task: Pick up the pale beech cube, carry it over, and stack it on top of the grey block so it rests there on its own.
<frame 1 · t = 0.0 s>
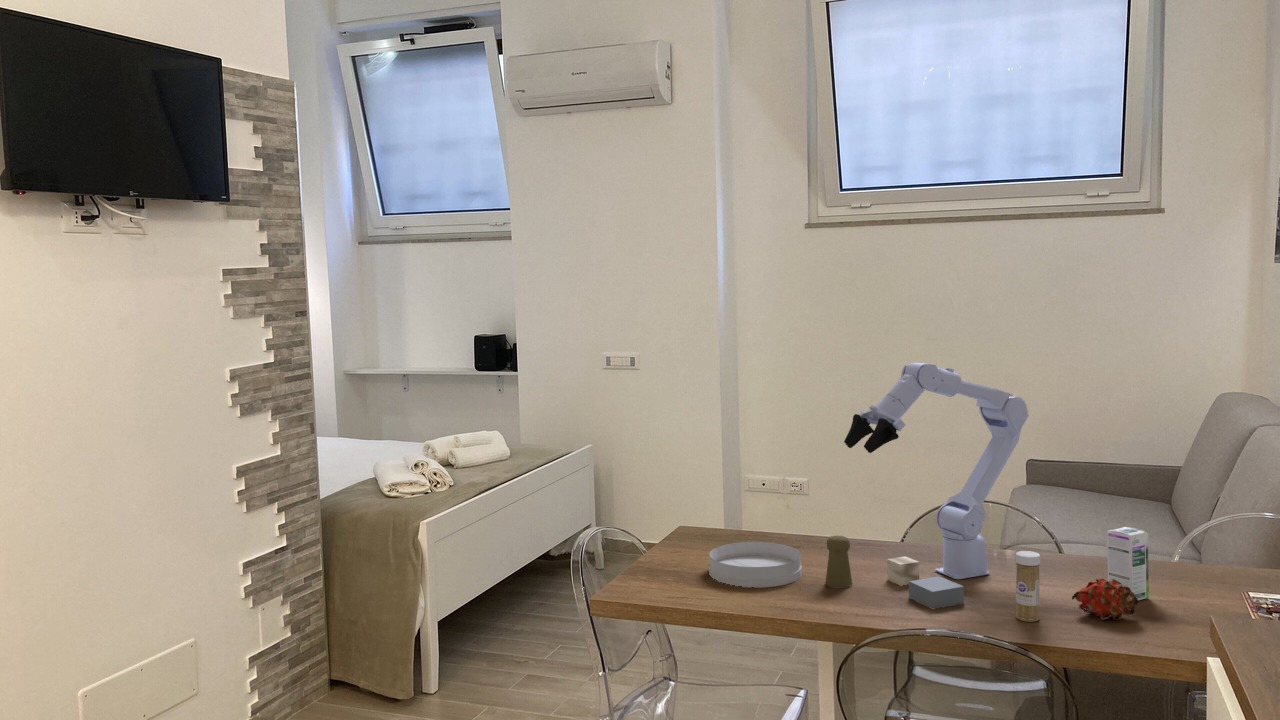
hand: (856, 447, 209), 32 cm above the table, tool tilted 50°, fingers open, 7 cm apart
sprinkles bottle: (1027, 619, 191), on the table
dragon fruit: (1104, 618, 190), on the table
dish: (755, 575, 227), on the table
grey block: (936, 602, 203), on the table
beech cube: (903, 581, 217), on the table
syrup box: (1127, 598, 202), on the table
cork: (838, 584, 217), on the table
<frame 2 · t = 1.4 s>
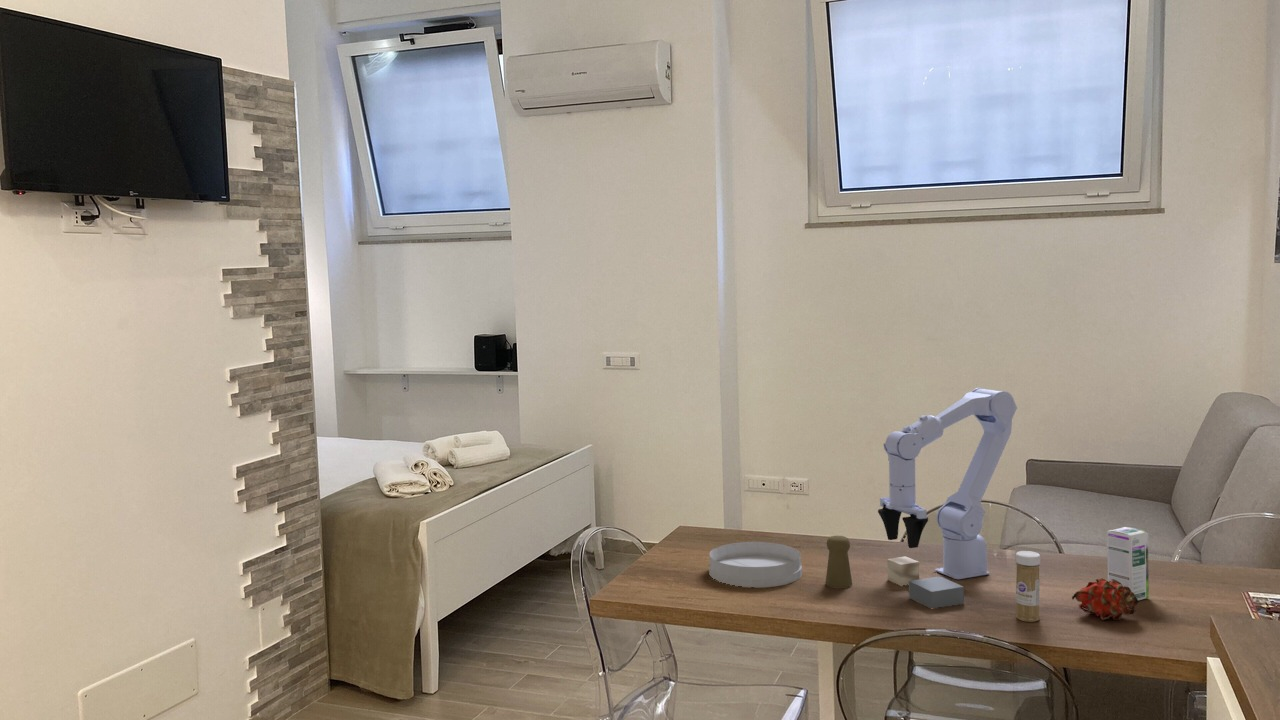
hand: (902, 543, 216), 9 cm above the table, tool pointing down, fingers open, 7 cm apart
nothing on the table moved.
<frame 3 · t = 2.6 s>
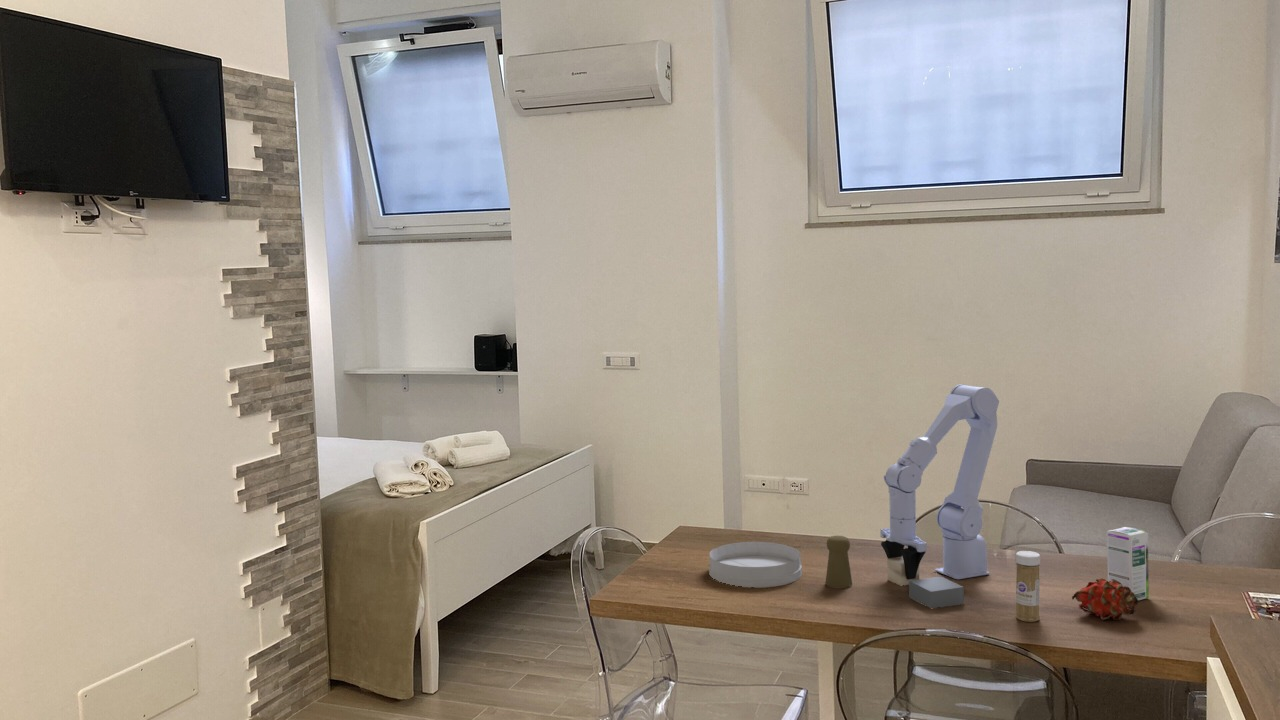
hand: (903, 575, 217), 1 cm above the table, tool pointing down, fingers closed on beech cube, 5 cm apart
beech cube: (903, 581, 217), on the table, touching gripper
everything else where it was.
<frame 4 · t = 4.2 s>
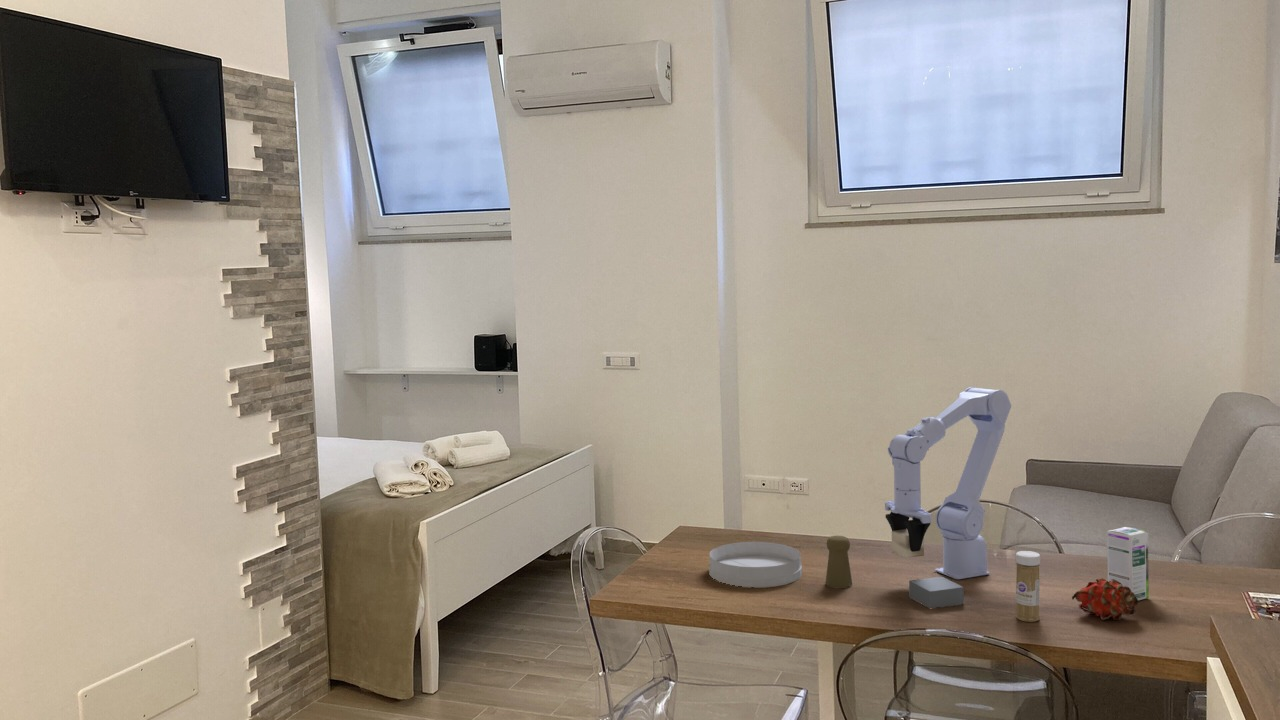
hand: (907, 547, 214), 8 cm above the table, tool pointing down, fingers closed on beech cube, 5 cm apart
beech cube: (907, 554, 214), point 7 cm above the table, touching gripper
everything else where it was.
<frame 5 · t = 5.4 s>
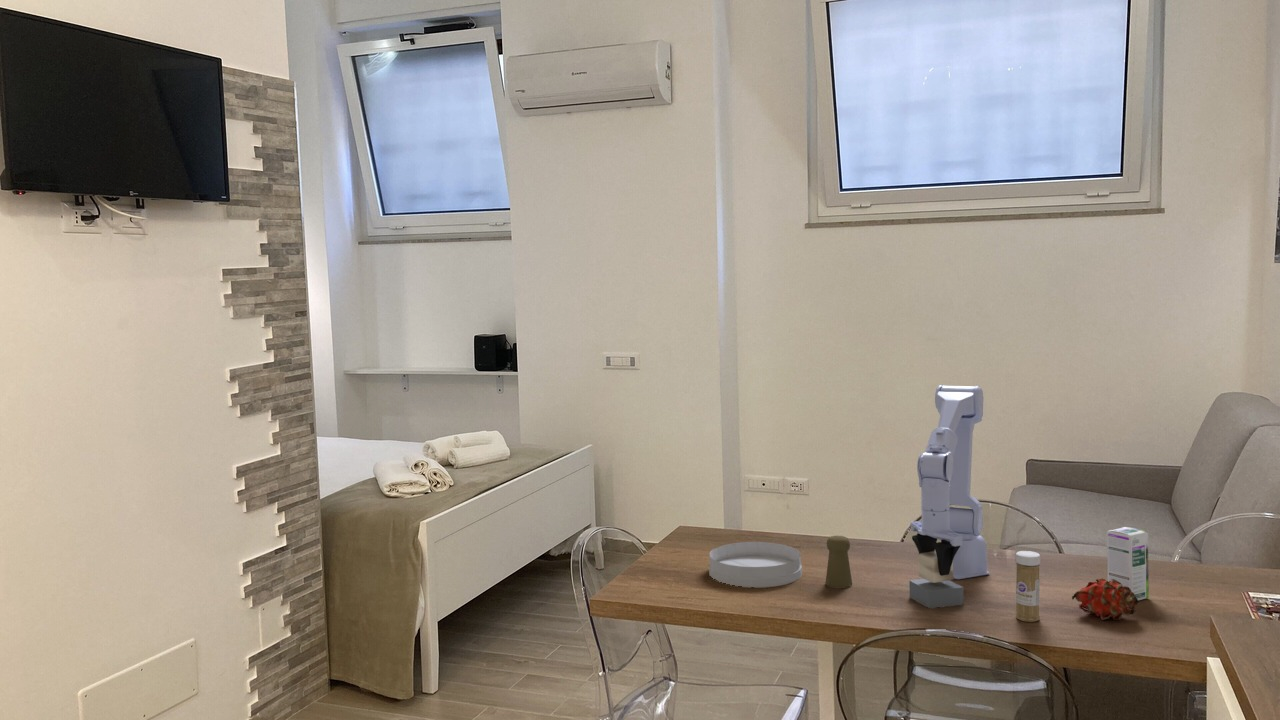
hand: (935, 571, 203), 6 cm above the table, tool pointing down, fingers closed on beech cube, 5 cm apart
beech cube: (935, 578, 203), point 5 cm above the table, touching gripper
everything else where it was.
when the fingers open (6 cm above the table, at t = 5.8 s): beech cube drops 1 cm, resting on grey block.
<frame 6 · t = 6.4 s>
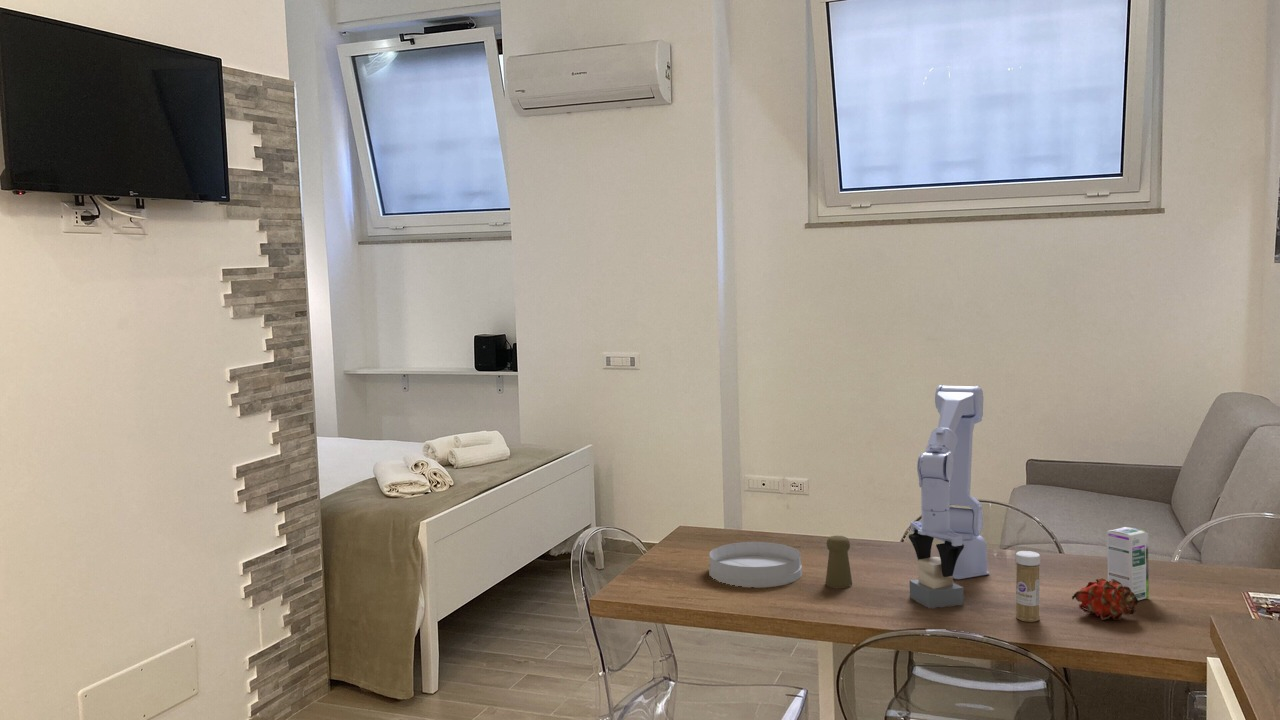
hand: (935, 571, 203), 6 cm above the table, tool pointing down, fingers open, 7 cm apart
grey block: (936, 602, 203), on the table, touching beech cube
beech cube: (935, 583, 203), point 4 cm above the table, touching grey block
everything else where it was.
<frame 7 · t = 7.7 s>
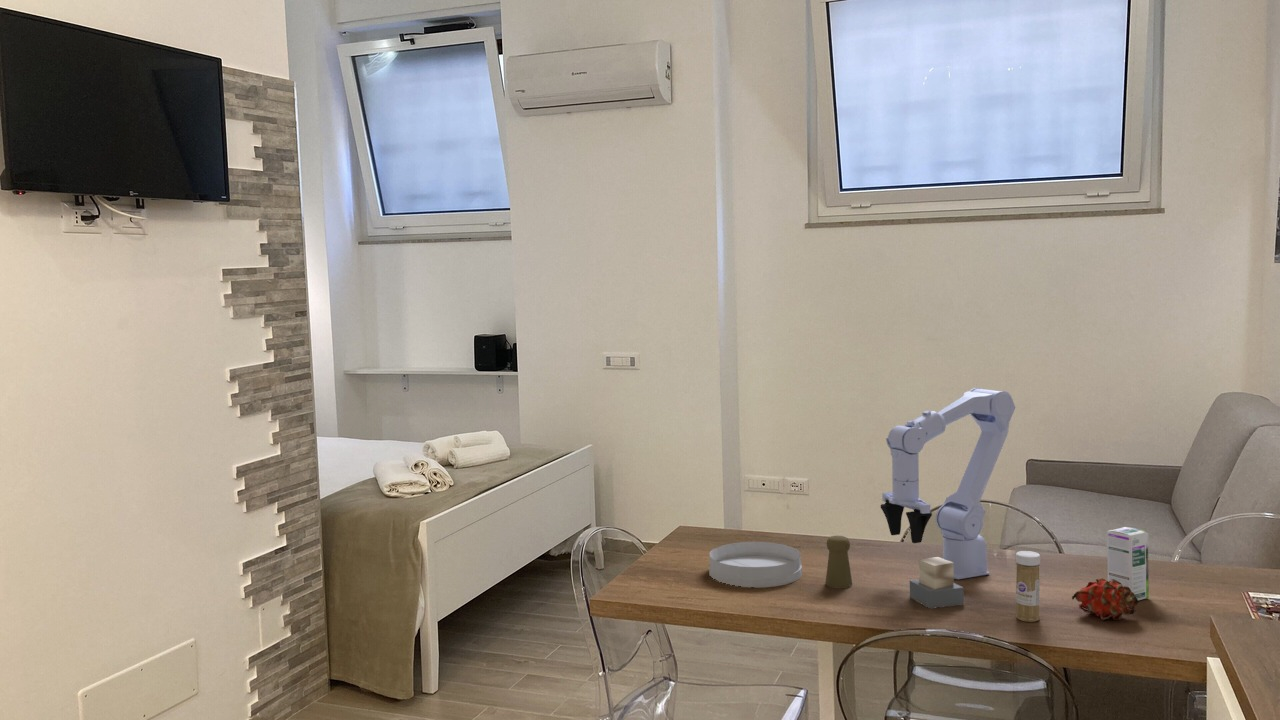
hand: (905, 538, 215), 10 cm above the table, tool pointing down, fingers open, 7 cm apart
grey block: (936, 602, 203), on the table
beech cube: (936, 584, 203), point 4 cm above the table
everything else where it was.
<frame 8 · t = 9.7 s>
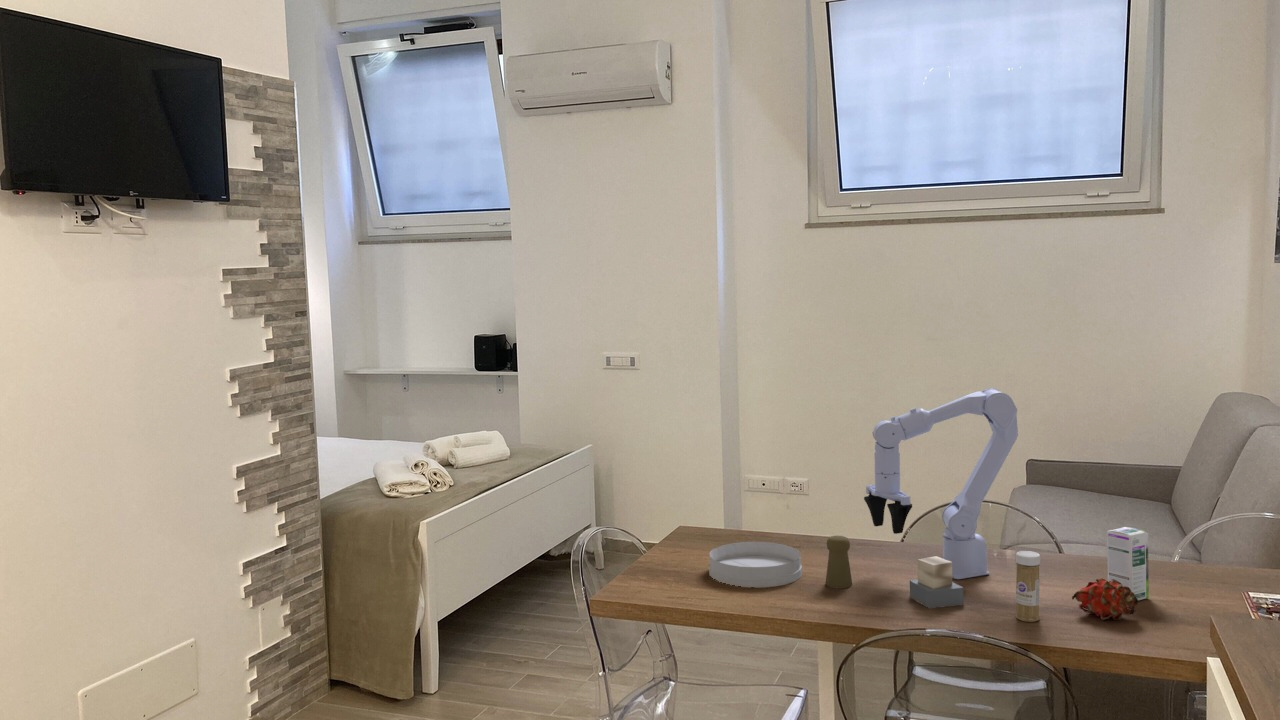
hand: (888, 529, 223), 10 cm above the table, tool pointing down, fingers open, 7 cm apart
nothing on the table moved.
at the end: beech cube 0.2 cm off-centre on the grey block, point 4.0 cm above the grey block's base; beech cube touching nothing; the gripper is holding nothing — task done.
